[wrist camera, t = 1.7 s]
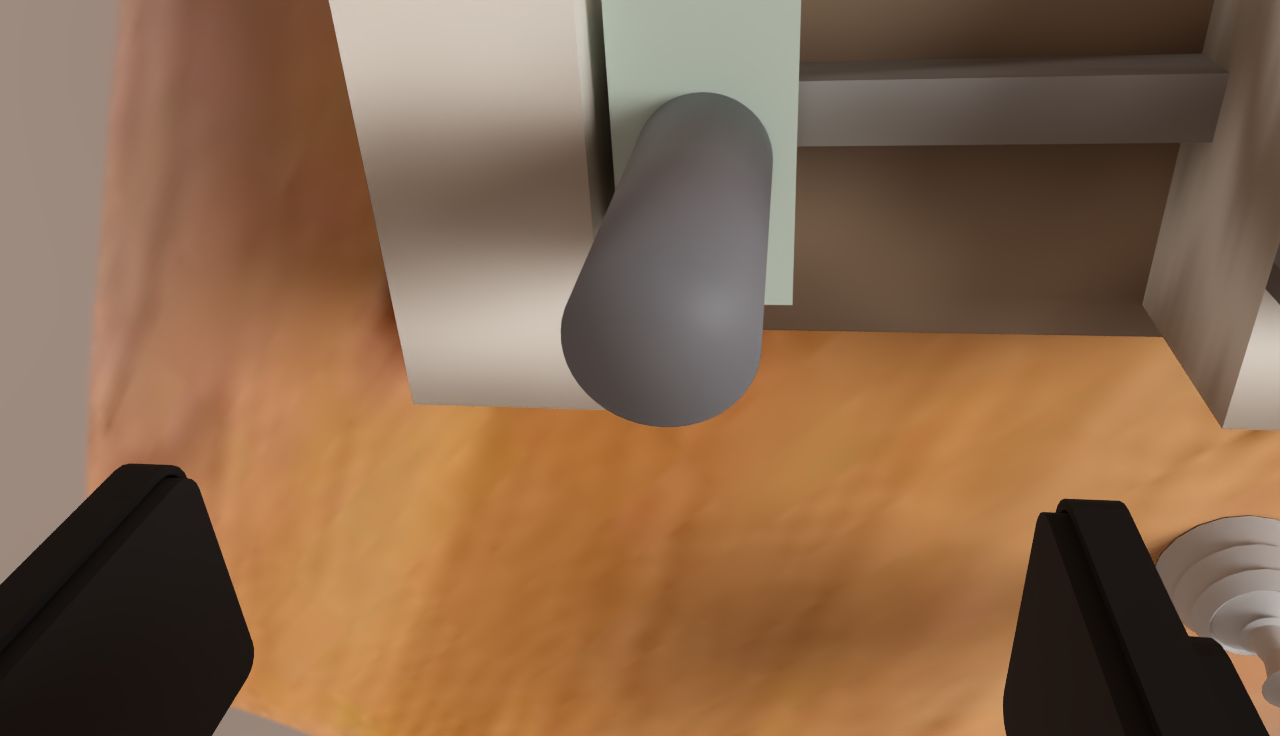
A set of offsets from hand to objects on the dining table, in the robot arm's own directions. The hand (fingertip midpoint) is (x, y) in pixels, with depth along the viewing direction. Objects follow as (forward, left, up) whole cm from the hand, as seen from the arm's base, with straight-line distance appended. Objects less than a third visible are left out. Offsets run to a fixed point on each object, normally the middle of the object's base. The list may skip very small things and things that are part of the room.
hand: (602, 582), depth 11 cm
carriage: (-1, 0, -16) cm, 16 cm away
